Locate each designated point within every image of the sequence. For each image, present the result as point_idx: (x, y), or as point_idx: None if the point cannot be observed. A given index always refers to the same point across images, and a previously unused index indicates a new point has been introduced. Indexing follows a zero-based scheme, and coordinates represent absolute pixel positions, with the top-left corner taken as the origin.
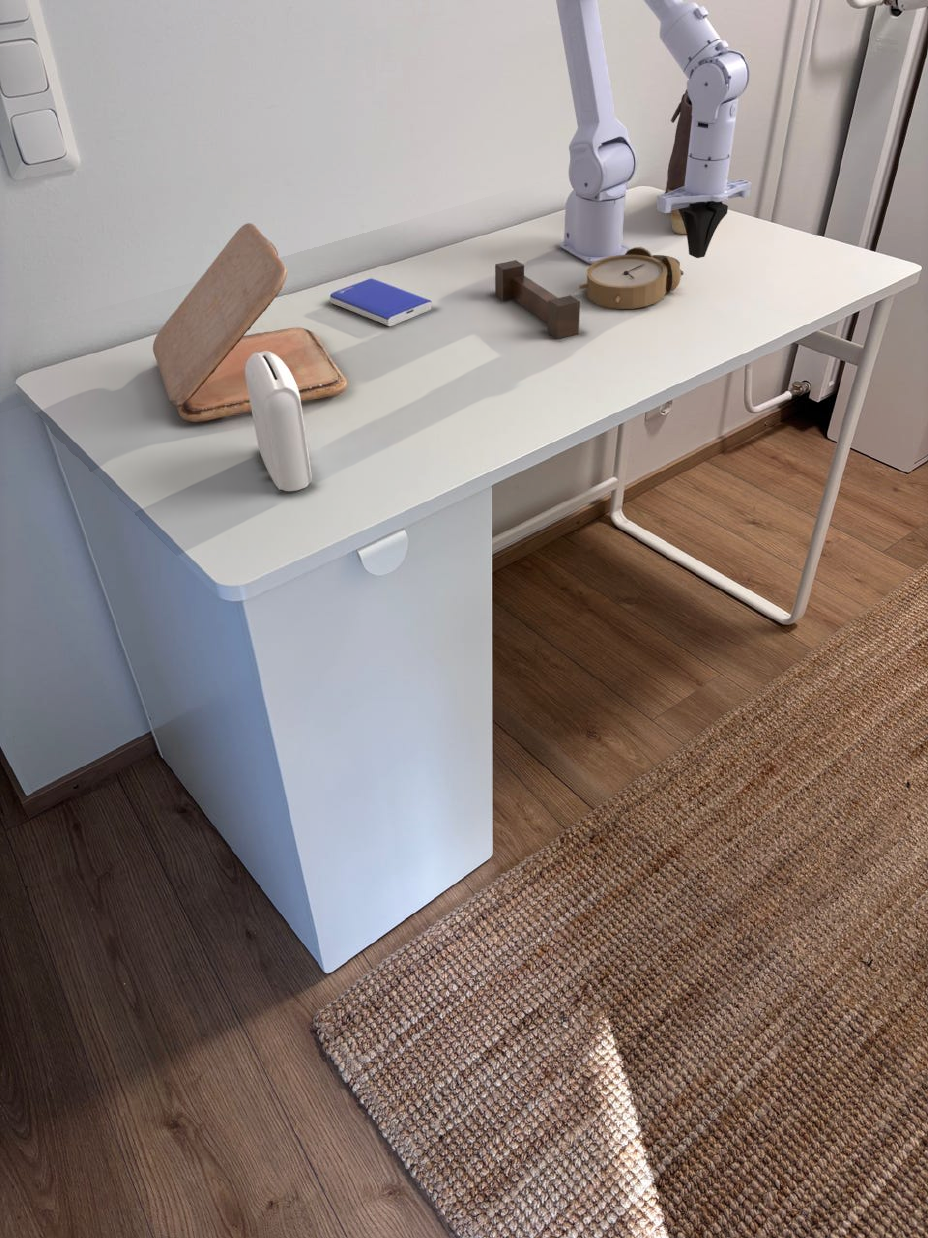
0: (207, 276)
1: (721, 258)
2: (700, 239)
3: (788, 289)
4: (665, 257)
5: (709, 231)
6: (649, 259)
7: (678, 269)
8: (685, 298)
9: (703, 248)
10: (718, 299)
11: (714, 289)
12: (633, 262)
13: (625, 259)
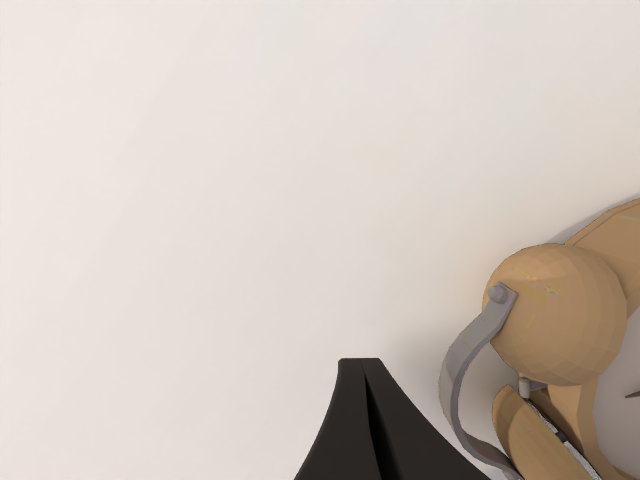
0: None
1: (167, 415)
2: (418, 412)
3: (95, 68)
4: (591, 376)
5: (369, 442)
6: (590, 417)
7: (573, 275)
8: (500, 195)
9: (368, 376)
10: (406, 125)
11: (354, 214)
12: (627, 434)
13: (625, 469)
